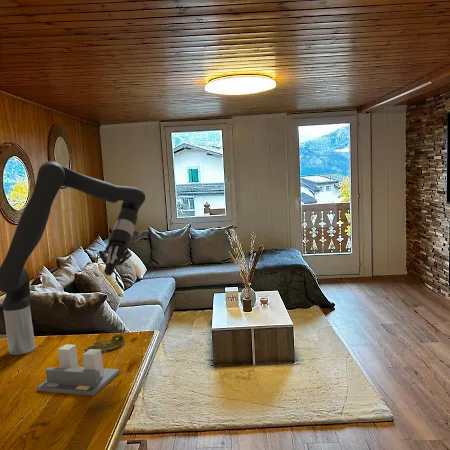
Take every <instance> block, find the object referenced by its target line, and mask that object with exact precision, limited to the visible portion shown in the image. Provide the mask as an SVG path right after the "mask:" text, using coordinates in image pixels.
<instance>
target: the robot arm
mask: <svg viewBox="0 0 450 450" xmlns="http://www.w3.org/2000/svg"><path fill="white" fill-rule="evenodd" d="M36 176H37V177H36V181H35V184H34V185H35V186H34V188H33V192H32V195H31V196H30V198H29V201H28V202H27V204H26V206H25V207H24V209H23V211H22V214H21V216H20V217H19V220H18V223H17V226H16V227H15V228H16V229H15V231H14V234H13V237H12V239H11V242H10V245H9V248H8V250H7V252H6V255H5V257H4V260H3V261H2V263H1V264H0V292H1V293H5V297H4V300H3V301H2V310H3V317H4V323H5V332H6V339H7V346H8V353H9V355H11V356H20V355H26V354H29V353H30V352H33V351H34V350H36V342H35V334H34V326H33V320H32V318H33V317H32V312H31V305H30V299H31V284H30V276H29V272H28V270H27V269H26V268H25V265H26V262H27V261H28V259H29V258H30V256H31V254H32V253H33V252H34V251H35V249H36V247H37V246H38V244H39V243H40V241H41V239H42V237H43V235H44V232H45V229H46V227H47V223H48V220H49V217H50V214H51V209H52V205H53V202H54V200H55V199H56V196H57V194H58V192H59V191H60V189H61V187H67V188H71V189H74V190H76V191H79V192H82V193H84V194H86V195H88V196H90V197H92V198H96V199H97V200H101V201H104V202H107V203H108V202H109V203H111V204H116V203H117V202H120V201H122V203H121V207H120V211H119V214H118V216H117V219H116V221H115V223H114V225H113V227H112V231H111V234H110V236H109V238H108V243H107V246H105V249H104V250H98V255H99V257H100V258H101V260H102V263H103V264H104V265H105V268H104V270H103V272H104V274H105V275H106V276H108V277H109V276H112V275H113V274H114V272H115V271H114V270H115V268H116V267H117V266H122V265H123V264H124V263H125V262H126V261H127V260H128V259H130V258H131V257H132V253H131V251H130V250H129V247H130V244H131V241H132V238H133V234H134V232H135V227H136V224H137V221H138V213H139V210H140V208H141V207H142V205H143V204H144V203H145V201H146V194H145V192H144V191H142V190H141V189H140V188H139V187H138V188H137V187H135V186H129V185H128V186H127V185H117V184H115V183H111V182H107V181H104V180H101V179H97V178H94V177H92V176H88V175H85V174H82V173H79V172H77V171H74V170H72V169H70V168H68V167H66V166H64V165H62V164H61V163H59V162H56V161H54V160H52V161H51V160H48V161H45V162H44V163H42V164H41V165H40V167H39V169H38V172H37V175H36Z"/></svg>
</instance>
